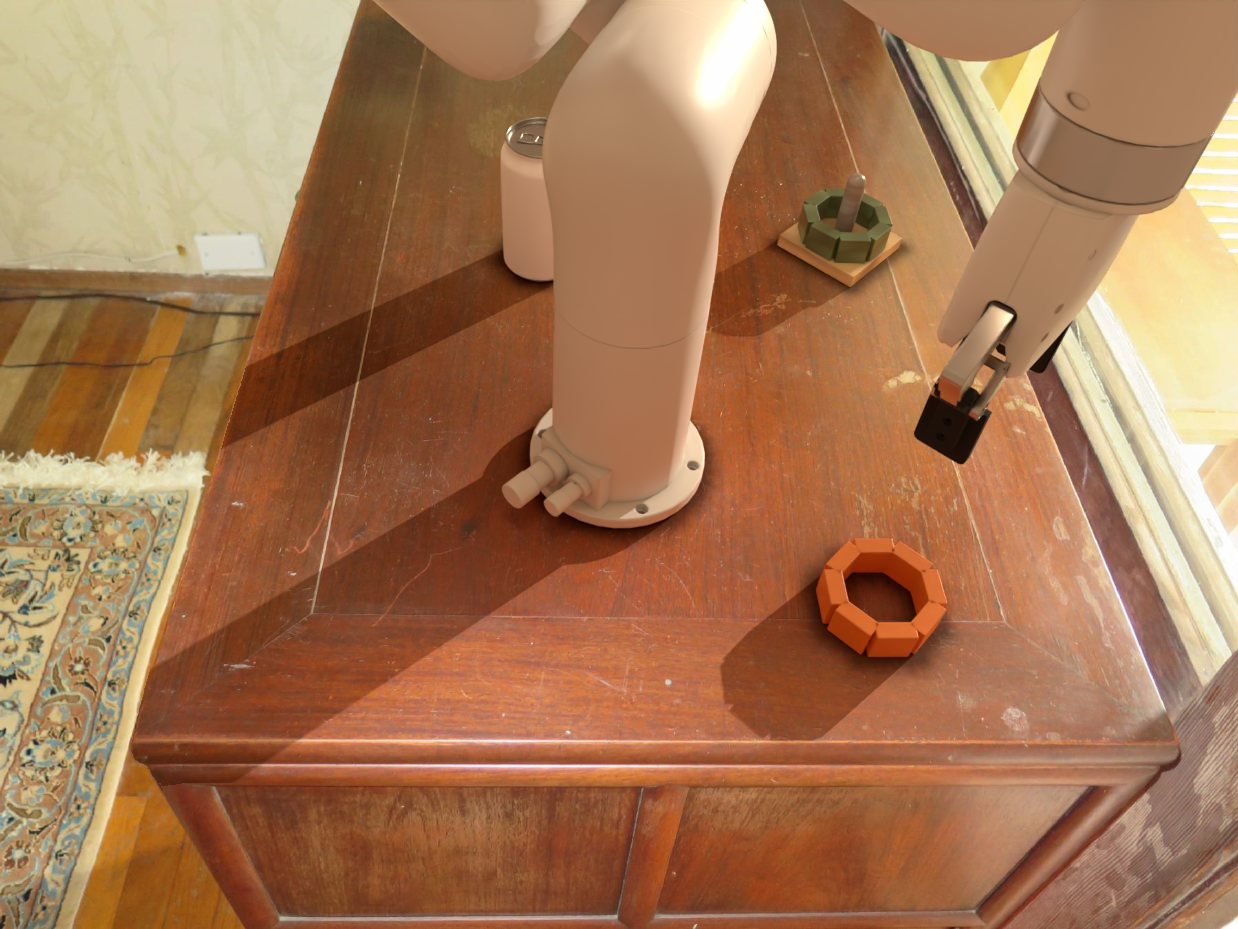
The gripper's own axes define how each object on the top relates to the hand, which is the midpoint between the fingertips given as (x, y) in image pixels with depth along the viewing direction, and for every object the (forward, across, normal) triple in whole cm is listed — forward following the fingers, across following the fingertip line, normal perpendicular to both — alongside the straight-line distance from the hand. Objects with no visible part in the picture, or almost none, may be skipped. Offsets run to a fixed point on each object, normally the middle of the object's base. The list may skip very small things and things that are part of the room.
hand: (981, 402), depth 57 cm
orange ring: (+15, +6, +1) cm, 16 cm away
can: (+14, -4, -40) cm, 42 cm away
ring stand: (+15, -25, -22) cm, 36 cm away
